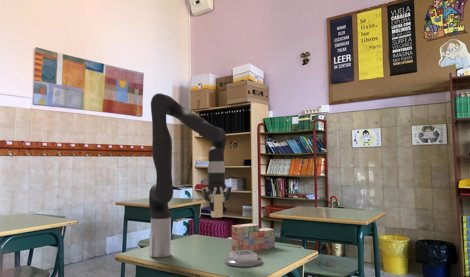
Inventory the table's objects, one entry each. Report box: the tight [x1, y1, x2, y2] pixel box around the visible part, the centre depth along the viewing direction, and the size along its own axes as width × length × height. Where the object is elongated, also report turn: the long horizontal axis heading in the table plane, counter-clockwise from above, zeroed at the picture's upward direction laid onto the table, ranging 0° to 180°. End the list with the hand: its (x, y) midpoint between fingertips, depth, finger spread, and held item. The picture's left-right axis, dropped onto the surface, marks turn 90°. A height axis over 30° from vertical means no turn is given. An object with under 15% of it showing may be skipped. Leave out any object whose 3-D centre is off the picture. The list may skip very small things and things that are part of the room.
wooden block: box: [210, 194, 224, 219], centre depth 163 cm, size 4×4×10 cm
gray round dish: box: [223, 250, 263, 268], centre depth 158 cm, size 16×16×4 cm
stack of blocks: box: [231, 222, 276, 252], centre depth 183 cm, size 21×6×12 cm, turn 119°
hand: (216, 210), depth 163 cm, fingers closed on wooden block, 4 cm apart
